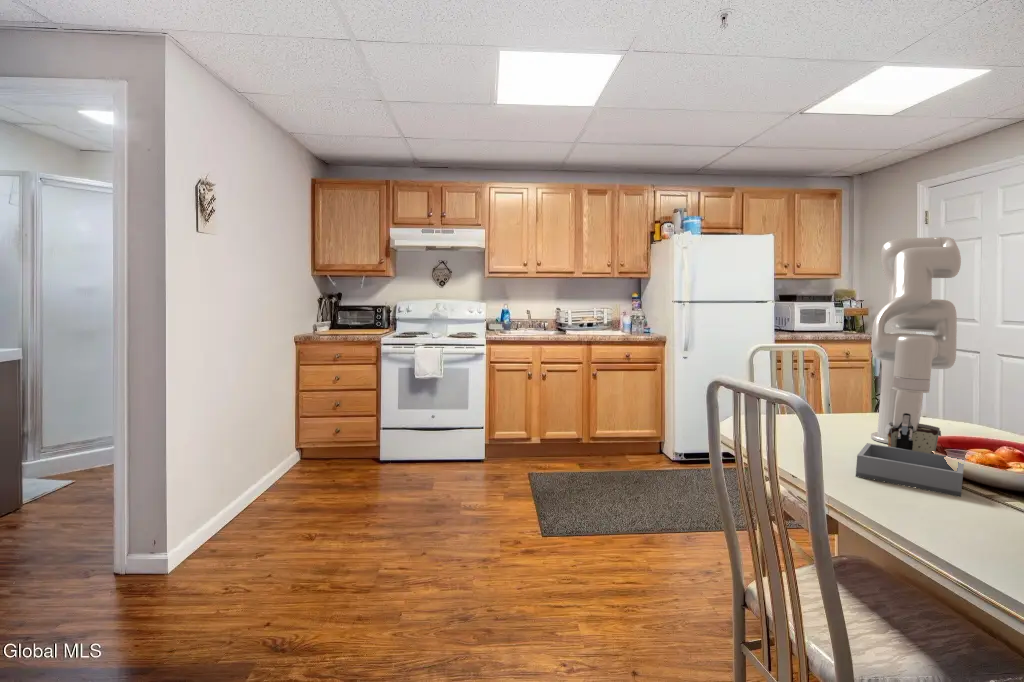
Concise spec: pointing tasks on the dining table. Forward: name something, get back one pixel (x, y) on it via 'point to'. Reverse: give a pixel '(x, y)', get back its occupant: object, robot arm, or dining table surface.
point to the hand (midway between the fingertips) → (905, 451)
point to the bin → (909, 468)
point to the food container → (916, 437)
